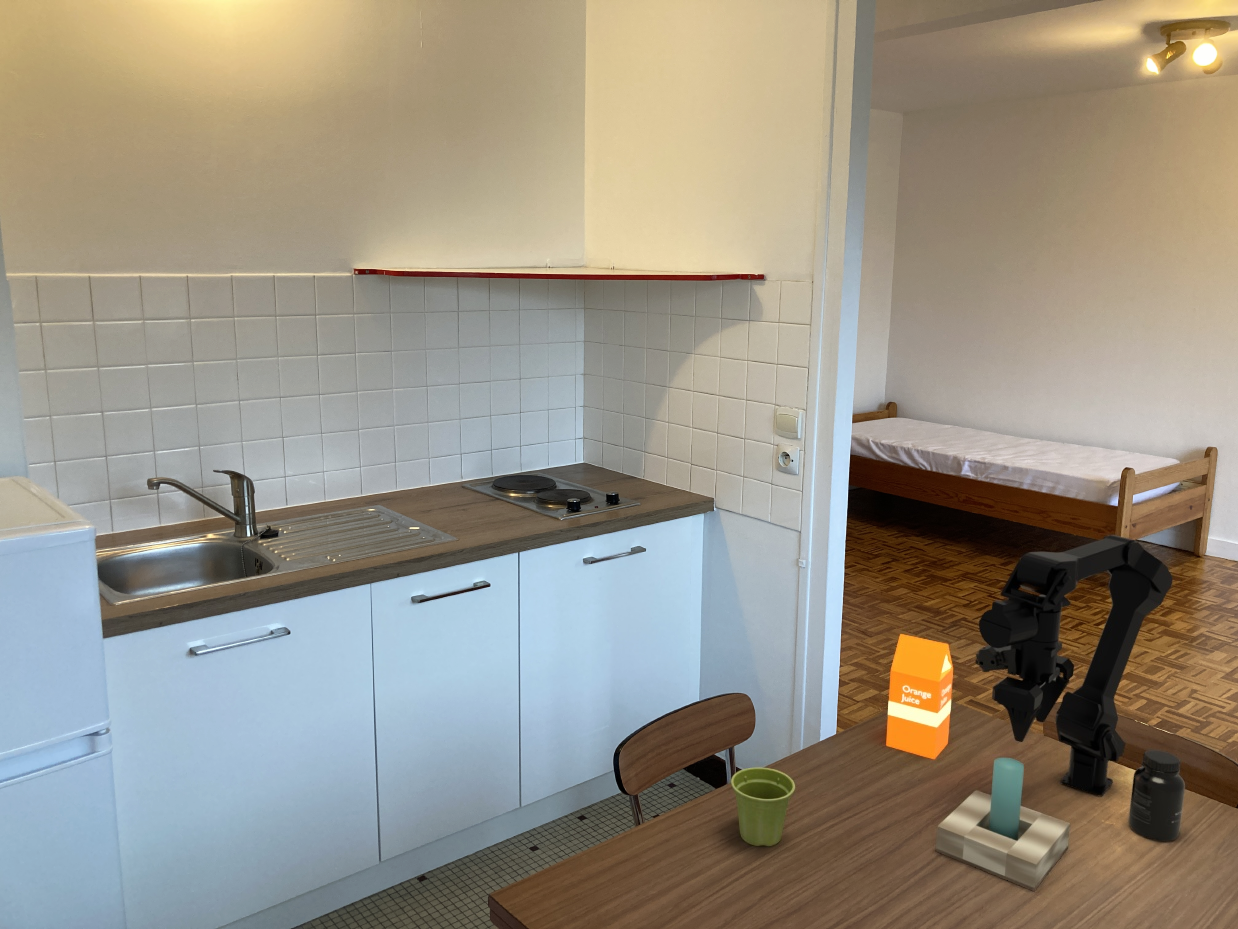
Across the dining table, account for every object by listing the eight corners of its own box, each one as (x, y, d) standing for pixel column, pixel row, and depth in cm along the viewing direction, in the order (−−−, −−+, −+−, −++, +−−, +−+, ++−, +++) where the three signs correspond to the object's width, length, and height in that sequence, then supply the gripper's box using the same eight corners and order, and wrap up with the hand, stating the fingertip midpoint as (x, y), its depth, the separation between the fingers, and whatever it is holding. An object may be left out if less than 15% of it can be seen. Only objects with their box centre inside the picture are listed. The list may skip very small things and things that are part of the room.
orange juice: (900, 730, 180) (907, 627, 176) (948, 743, 175) (956, 638, 171) (885, 746, 174) (891, 640, 170) (934, 760, 169) (942, 651, 165)
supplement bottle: (1186, 845, 143) (1195, 770, 141) (1136, 840, 144) (1144, 765, 142) (1169, 820, 150) (1178, 748, 148) (1122, 815, 151) (1130, 744, 149)
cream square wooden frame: (974, 813, 151) (976, 790, 151) (1067, 848, 142) (1070, 823, 141) (935, 851, 141) (937, 826, 140) (1033, 891, 132) (1036, 864, 131)
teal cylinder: (987, 837, 144) (993, 755, 142) (1016, 841, 143) (1022, 760, 140) (988, 851, 140) (994, 768, 138) (1017, 856, 139) (1024, 772, 137)
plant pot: (805, 835, 145) (807, 782, 143) (769, 862, 138) (771, 806, 137) (753, 812, 151) (755, 761, 150) (716, 837, 145) (718, 783, 143)
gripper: (1008, 609, 160) (1000, 698, 163) (961, 639, 147) (954, 735, 149) (1079, 625, 153) (1070, 718, 156) (1037, 658, 139) (1028, 758, 142)
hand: (1029, 731), depth 151 cm, fingers open, 9 cm apart
